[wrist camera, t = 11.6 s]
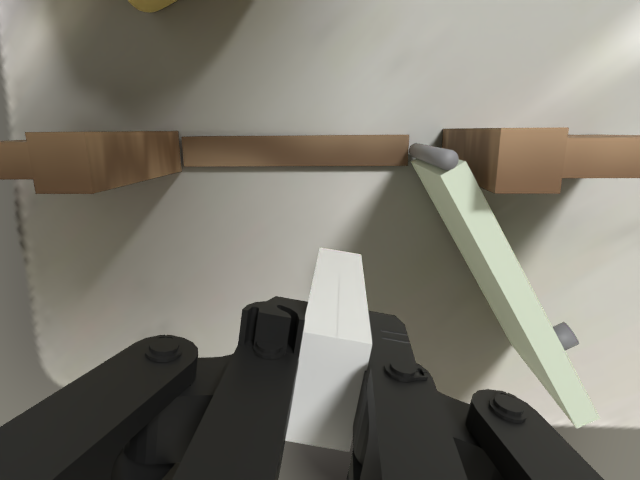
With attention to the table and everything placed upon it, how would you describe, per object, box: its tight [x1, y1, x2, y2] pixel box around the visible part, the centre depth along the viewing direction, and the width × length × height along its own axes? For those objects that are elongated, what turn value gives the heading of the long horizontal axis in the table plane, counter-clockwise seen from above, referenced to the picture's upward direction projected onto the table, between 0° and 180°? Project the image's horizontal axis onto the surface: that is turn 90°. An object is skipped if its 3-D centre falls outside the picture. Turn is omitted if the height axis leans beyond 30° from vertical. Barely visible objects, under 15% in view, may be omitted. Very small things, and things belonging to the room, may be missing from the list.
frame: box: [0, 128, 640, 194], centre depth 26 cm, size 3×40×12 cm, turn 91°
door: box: [409, 143, 600, 428], centre depth 27 cm, size 18×3×10 cm, turn 31°
